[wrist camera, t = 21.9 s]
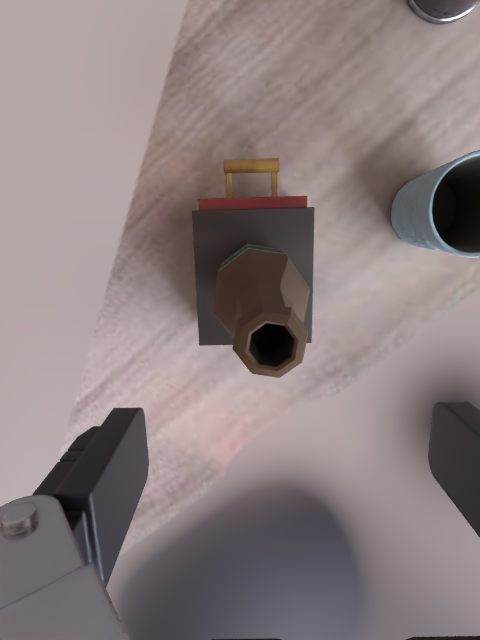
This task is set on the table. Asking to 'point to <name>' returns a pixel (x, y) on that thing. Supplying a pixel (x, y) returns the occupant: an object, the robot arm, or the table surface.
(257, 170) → the drawer
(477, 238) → the drinking glass
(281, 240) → the cabinet
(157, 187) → the table surface
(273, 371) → the beer bottle
